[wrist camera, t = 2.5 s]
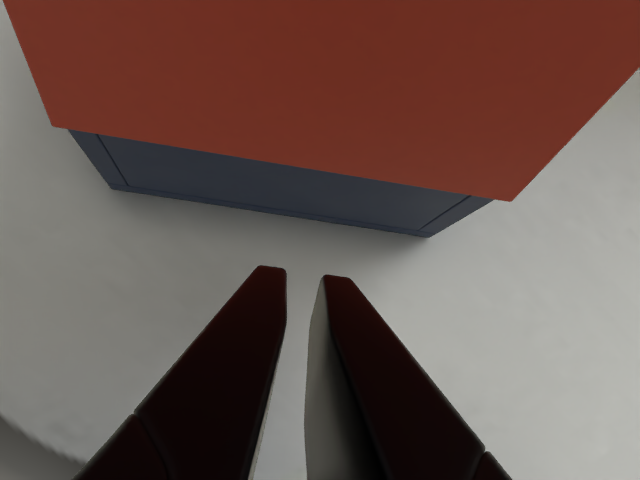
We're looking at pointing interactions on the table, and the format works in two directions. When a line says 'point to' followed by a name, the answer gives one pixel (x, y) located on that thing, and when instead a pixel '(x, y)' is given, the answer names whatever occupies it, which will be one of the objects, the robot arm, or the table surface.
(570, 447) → the table surface
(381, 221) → the box
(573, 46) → the lid
